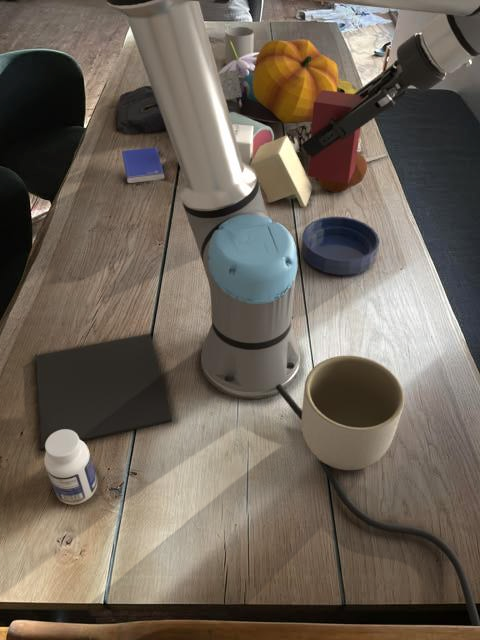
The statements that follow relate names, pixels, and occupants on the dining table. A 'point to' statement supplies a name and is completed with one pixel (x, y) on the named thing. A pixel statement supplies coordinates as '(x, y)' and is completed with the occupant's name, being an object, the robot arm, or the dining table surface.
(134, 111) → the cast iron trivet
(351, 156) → the case
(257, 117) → the decorative object
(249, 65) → the water lily
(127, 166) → the blue book
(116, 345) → the mat
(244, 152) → the ink box
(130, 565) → the dining table surface
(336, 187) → the potato
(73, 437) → the pill bottle
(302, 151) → the seashell
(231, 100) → the toy race car
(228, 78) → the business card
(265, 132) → the mug
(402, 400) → the planter
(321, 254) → the bowl
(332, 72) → the decorative pumpkin
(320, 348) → the dining table surface
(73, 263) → the dining table surface
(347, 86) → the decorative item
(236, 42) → the cup
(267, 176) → the cream wooden brick
